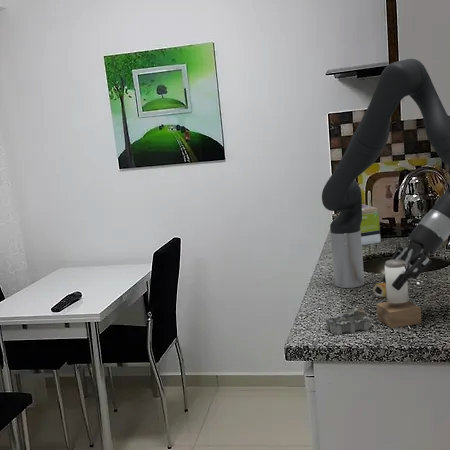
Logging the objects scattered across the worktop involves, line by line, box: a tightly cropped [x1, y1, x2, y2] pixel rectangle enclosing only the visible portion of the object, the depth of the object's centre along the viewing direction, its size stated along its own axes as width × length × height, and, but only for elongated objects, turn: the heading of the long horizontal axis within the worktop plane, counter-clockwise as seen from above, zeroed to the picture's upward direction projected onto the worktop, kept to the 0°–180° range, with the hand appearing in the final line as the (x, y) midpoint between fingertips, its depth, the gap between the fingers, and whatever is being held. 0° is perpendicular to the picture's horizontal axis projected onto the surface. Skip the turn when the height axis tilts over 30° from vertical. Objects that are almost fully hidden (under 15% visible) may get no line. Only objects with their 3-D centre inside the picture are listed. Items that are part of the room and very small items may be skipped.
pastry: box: [372, 282, 387, 299], centre depth 172 cm, size 9×7×4 cm
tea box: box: [360, 203, 382, 246], centre depth 248 cm, size 15×10×15 cm, turn 10°
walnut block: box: [376, 300, 422, 329], centre depth 148 cm, size 8×8×4 cm
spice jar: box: [384, 259, 410, 303], centre depth 147 cm, size 5×5×10 cm
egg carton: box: [324, 307, 373, 335], centre depth 147 cm, size 11×8×4 cm
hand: (390, 285), depth 147 cm, fingers closed on spice jar, 5 cm apart
